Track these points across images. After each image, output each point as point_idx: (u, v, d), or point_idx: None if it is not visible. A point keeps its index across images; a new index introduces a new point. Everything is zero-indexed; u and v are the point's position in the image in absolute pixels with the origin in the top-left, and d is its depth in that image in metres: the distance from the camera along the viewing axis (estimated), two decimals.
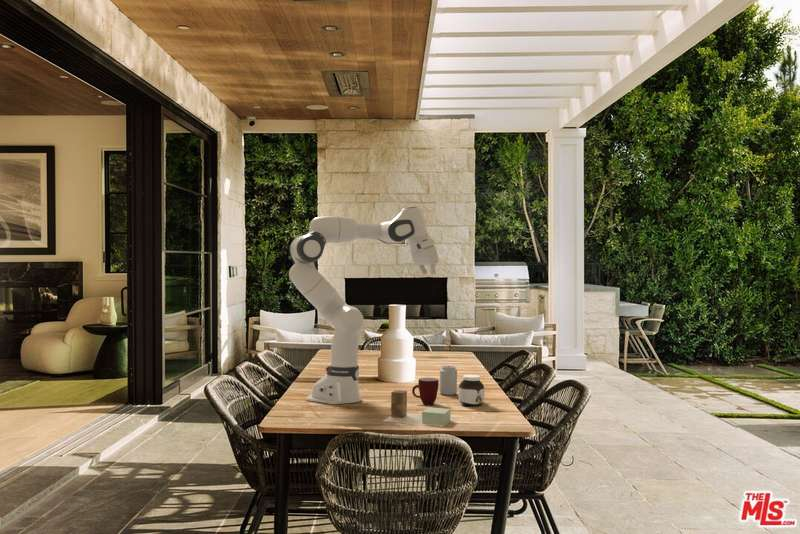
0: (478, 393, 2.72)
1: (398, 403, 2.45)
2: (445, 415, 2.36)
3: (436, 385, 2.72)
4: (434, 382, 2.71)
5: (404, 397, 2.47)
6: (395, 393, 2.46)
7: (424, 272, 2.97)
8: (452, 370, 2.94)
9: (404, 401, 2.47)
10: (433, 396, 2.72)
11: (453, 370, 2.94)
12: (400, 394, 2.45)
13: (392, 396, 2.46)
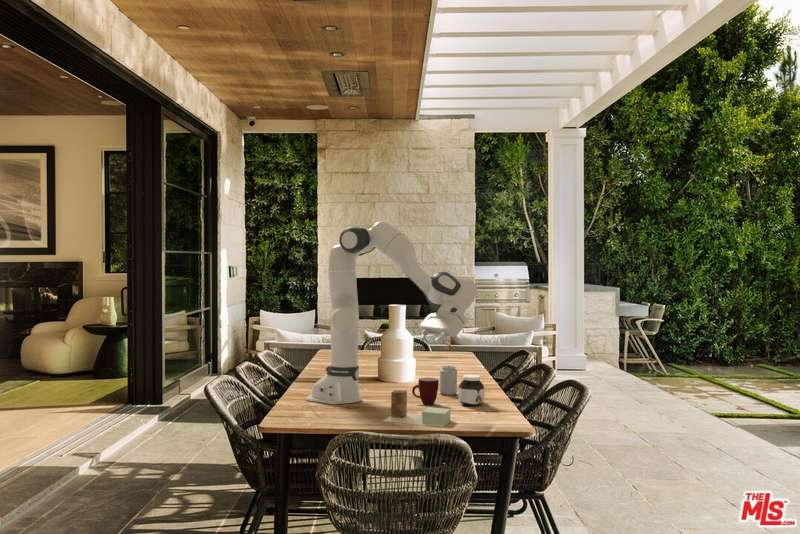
0: (478, 393, 2.72)
1: (398, 403, 2.45)
2: (445, 415, 2.36)
3: (436, 385, 2.72)
4: (434, 382, 2.71)
5: (404, 397, 2.47)
6: (395, 393, 2.46)
7: (422, 338, 2.59)
8: (452, 370, 2.94)
9: (404, 401, 2.47)
10: (433, 396, 2.72)
11: (453, 370, 2.94)
12: (400, 394, 2.45)
13: (392, 396, 2.46)
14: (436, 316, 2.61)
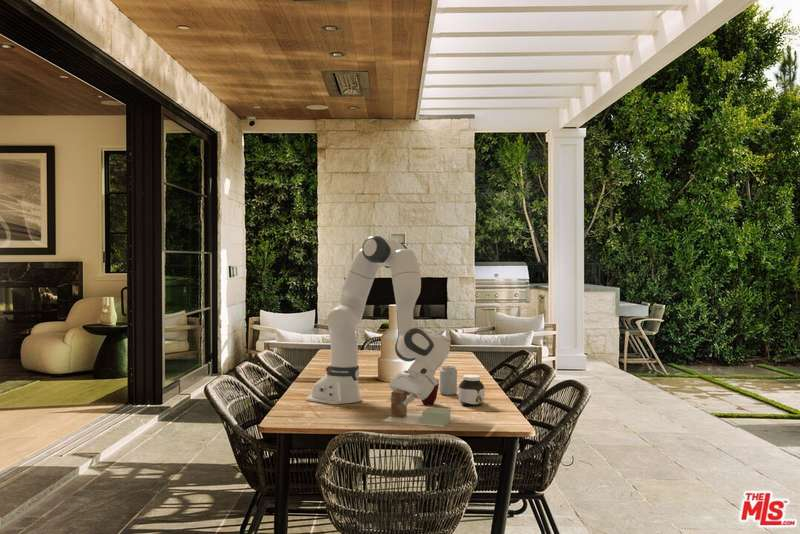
0: (478, 393, 2.72)
1: (398, 403, 2.45)
2: (445, 415, 2.36)
3: (436, 385, 2.72)
4: None
5: (404, 397, 2.47)
6: (395, 393, 2.46)
7: None
8: (452, 370, 2.94)
9: None
10: (433, 396, 2.72)
11: (453, 370, 2.94)
12: (400, 394, 2.45)
13: (392, 396, 2.46)
14: (406, 375, 2.54)
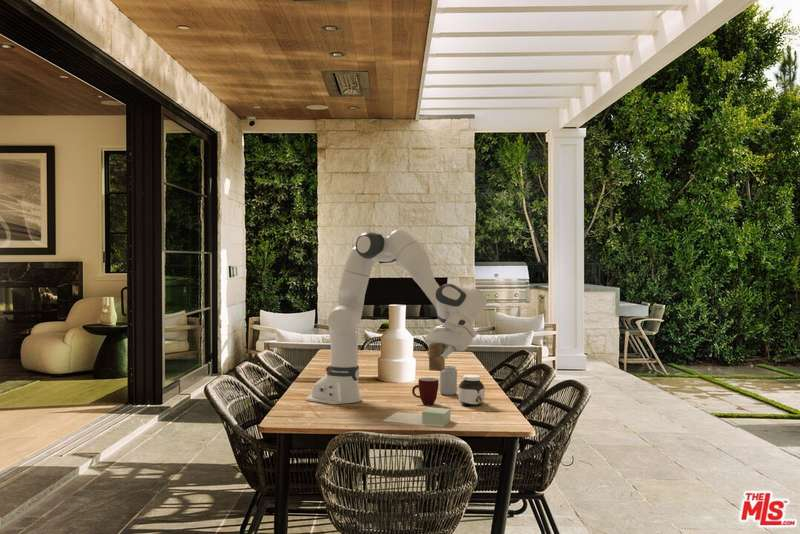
0: (478, 393, 2.72)
1: (436, 356, 2.38)
2: (445, 415, 2.36)
3: (436, 385, 2.72)
4: (434, 382, 2.71)
5: (442, 349, 2.39)
6: (433, 345, 2.38)
7: None
8: (452, 370, 2.94)
9: None
10: (433, 396, 2.72)
11: (453, 370, 2.94)
12: (438, 346, 2.38)
13: (430, 349, 2.39)
14: (443, 329, 2.46)
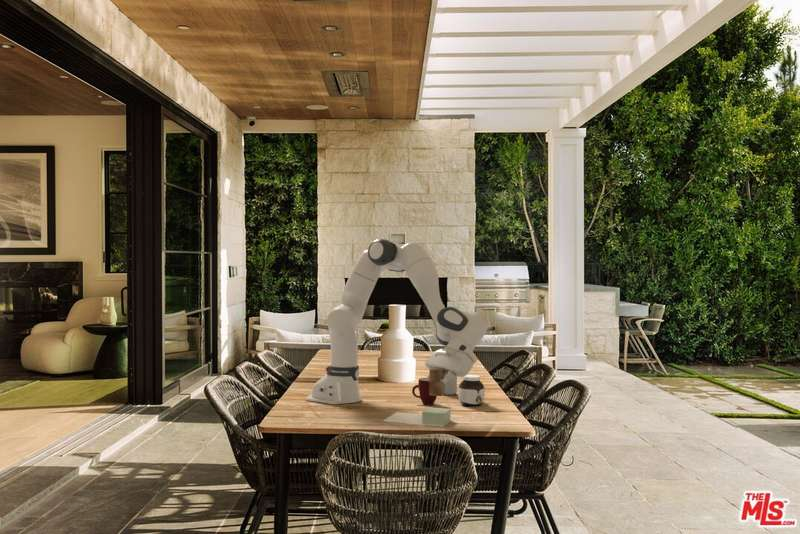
0: (478, 393, 2.72)
1: (437, 381, 2.38)
2: (445, 415, 2.36)
3: None
4: None
5: (443, 375, 2.39)
6: (433, 370, 2.38)
7: None
8: None
9: None
10: (433, 396, 2.72)
11: None
12: (439, 371, 2.37)
13: (430, 374, 2.38)
14: (443, 353, 2.46)
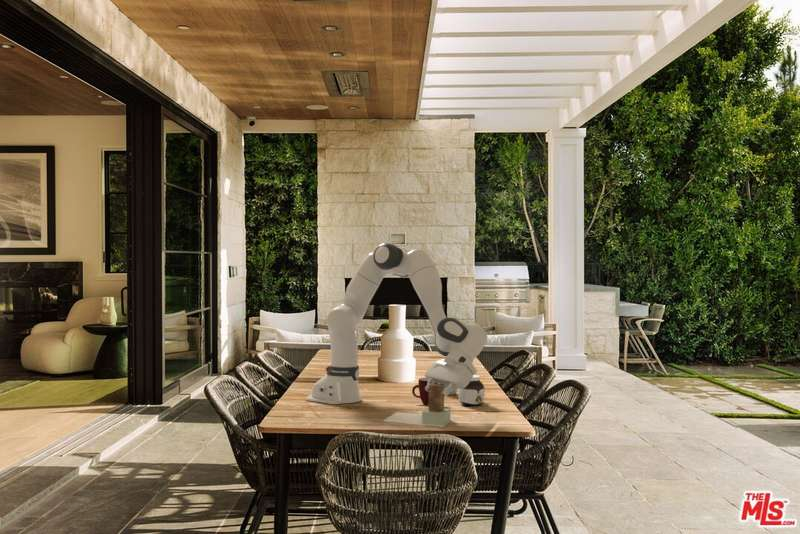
0: (478, 393, 2.72)
1: (436, 397, 2.38)
2: (445, 415, 2.36)
3: None
4: None
5: (442, 390, 2.39)
6: (433, 386, 2.38)
7: (428, 388, 2.43)
8: None
9: (442, 395, 2.39)
10: None
11: None
12: (438, 387, 2.37)
13: (429, 389, 2.38)
14: (443, 364, 2.46)
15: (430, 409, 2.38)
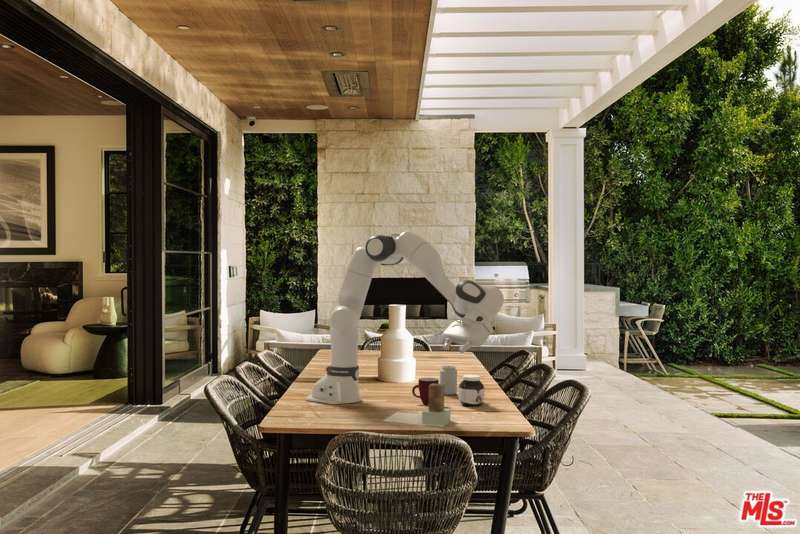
0: (478, 393, 2.72)
1: (436, 397, 2.38)
2: (445, 415, 2.36)
3: None
4: (434, 382, 2.71)
5: (442, 390, 2.39)
6: (433, 386, 2.38)
7: (446, 346, 2.52)
8: (452, 370, 2.94)
9: (442, 395, 2.39)
10: None
11: (453, 370, 2.94)
12: (438, 387, 2.37)
13: (429, 389, 2.38)
14: (461, 324, 2.55)
15: (430, 409, 2.38)
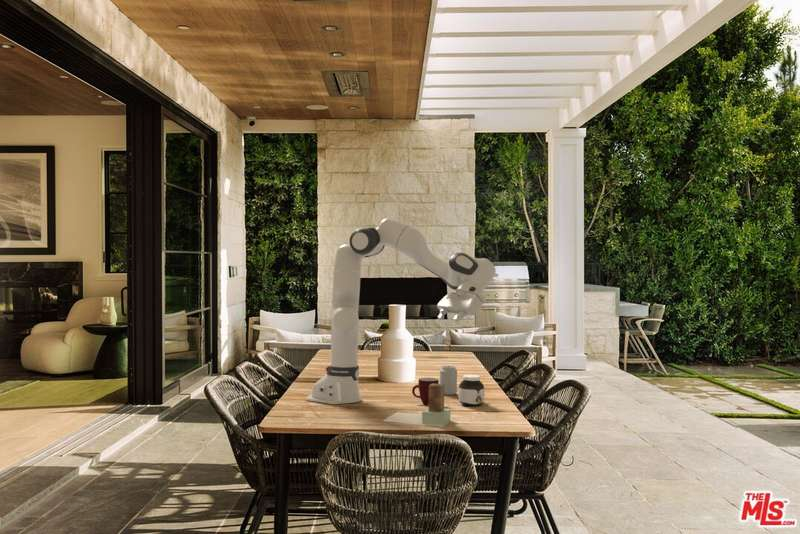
0: (478, 393, 2.72)
1: (436, 397, 2.38)
2: (445, 415, 2.36)
3: None
4: (434, 382, 2.71)
5: (442, 390, 2.39)
6: (433, 386, 2.38)
7: (441, 317, 2.60)
8: (452, 370, 2.94)
9: (442, 395, 2.39)
10: None
11: (453, 370, 2.94)
12: (438, 387, 2.37)
13: (429, 389, 2.38)
14: (454, 296, 2.63)
15: (430, 409, 2.38)
